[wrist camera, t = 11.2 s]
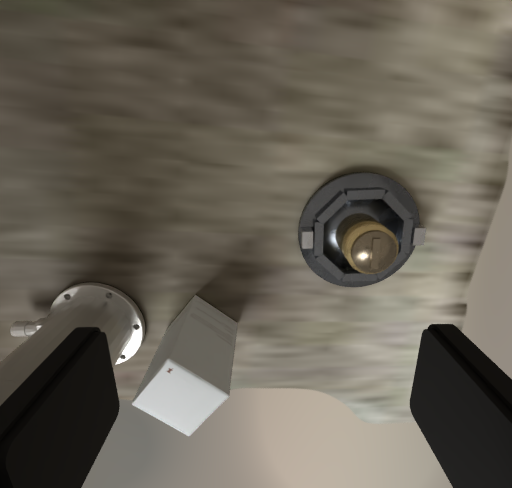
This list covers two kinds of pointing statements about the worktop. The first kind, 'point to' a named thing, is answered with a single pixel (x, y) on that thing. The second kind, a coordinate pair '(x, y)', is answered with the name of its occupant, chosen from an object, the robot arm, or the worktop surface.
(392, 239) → the brass lock cylinder
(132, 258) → the worktop surface
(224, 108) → the worktop surface
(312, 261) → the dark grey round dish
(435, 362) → the robot arm
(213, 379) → the supplement box
